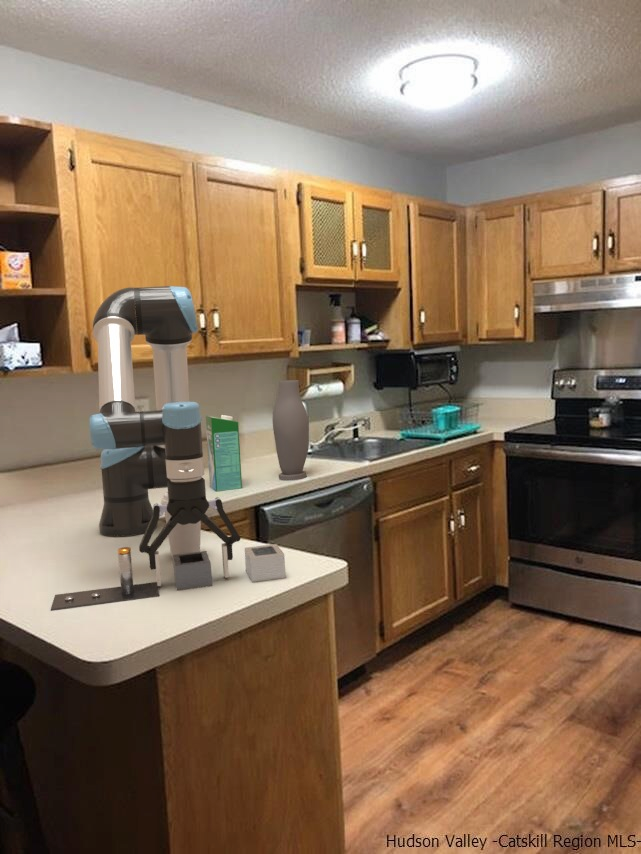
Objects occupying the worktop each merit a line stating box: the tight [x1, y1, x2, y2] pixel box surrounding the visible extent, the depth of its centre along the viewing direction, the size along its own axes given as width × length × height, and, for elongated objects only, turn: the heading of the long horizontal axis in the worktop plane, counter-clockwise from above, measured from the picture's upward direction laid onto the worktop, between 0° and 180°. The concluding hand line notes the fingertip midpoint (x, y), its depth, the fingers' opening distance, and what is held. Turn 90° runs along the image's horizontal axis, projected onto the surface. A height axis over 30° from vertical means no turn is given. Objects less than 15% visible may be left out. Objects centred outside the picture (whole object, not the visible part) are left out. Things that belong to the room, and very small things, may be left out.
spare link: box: [244, 543, 286, 583], centre depth 147 cm, size 8×7×5 cm
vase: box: [272, 379, 310, 481], centre depth 250 cm, size 13×13×35 cm
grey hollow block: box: [172, 550, 213, 591], centre depth 144 cm, size 8×7×5 cm
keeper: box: [50, 546, 160, 611], centre depth 138 cm, size 8×20×9 cm, turn 105°
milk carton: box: [205, 414, 243, 492], centre depth 238 cm, size 9×9×25 cm
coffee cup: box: [160, 491, 202, 559], centre depth 162 cm, size 10×10×15 cm
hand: (192, 580), depth 144 cm, fingers open, 13 cm apart
